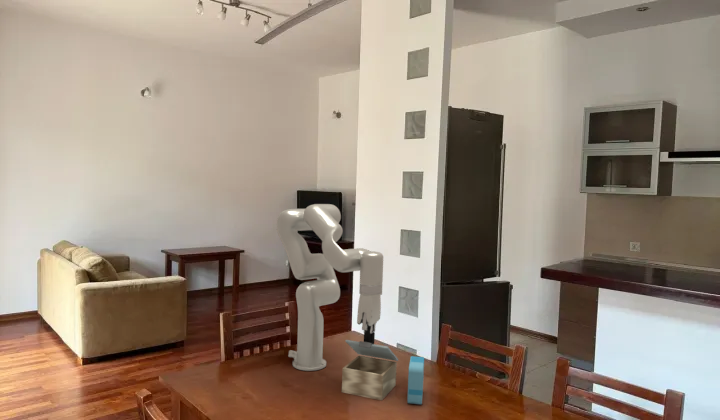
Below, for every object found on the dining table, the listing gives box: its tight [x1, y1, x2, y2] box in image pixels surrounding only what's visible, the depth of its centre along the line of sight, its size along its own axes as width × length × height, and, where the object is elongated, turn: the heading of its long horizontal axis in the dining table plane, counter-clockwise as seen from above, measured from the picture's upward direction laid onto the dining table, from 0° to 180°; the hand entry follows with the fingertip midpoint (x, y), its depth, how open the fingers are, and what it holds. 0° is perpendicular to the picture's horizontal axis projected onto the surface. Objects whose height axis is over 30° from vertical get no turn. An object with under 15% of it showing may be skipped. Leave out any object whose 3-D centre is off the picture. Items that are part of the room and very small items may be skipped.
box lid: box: [344, 339, 399, 362], centre depth 170 cm, size 15×15×2 cm
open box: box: [341, 355, 398, 401], centre depth 170 cm, size 14×14×8 cm
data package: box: [407, 355, 425, 405], centre depth 164 cm, size 12×4×12 cm, turn 171°
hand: (368, 344), depth 168 cm, fingers closed
